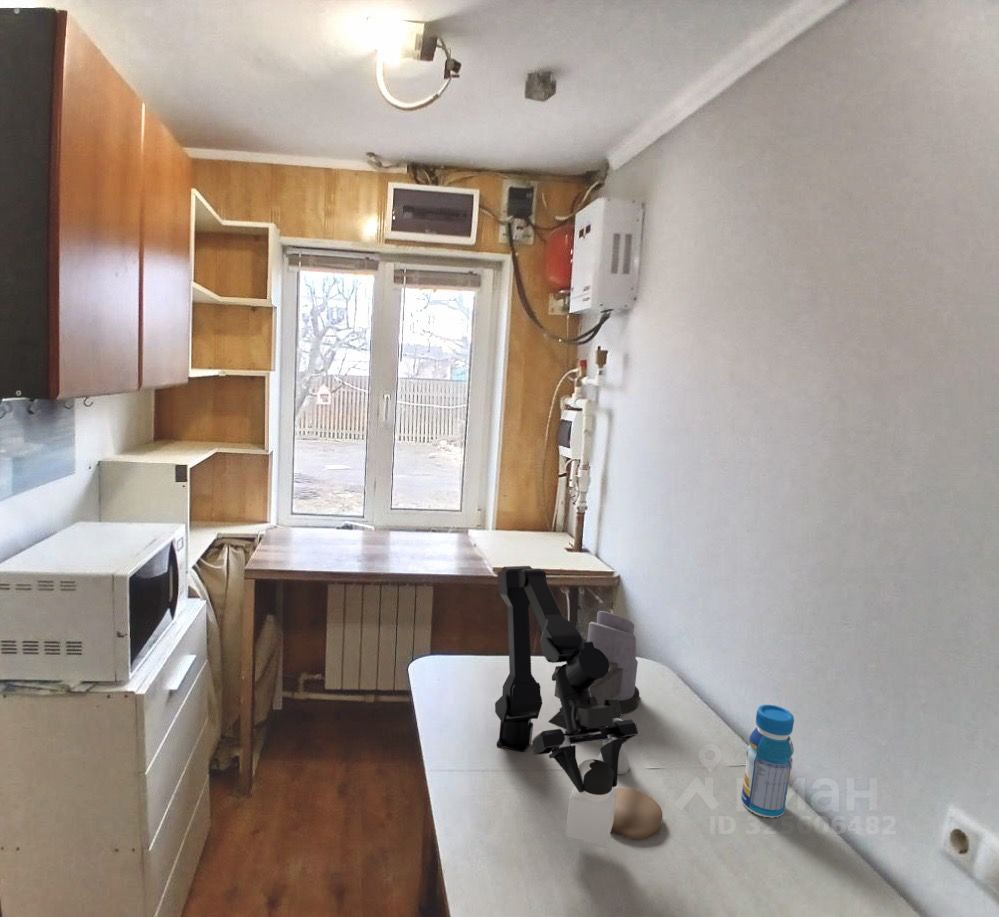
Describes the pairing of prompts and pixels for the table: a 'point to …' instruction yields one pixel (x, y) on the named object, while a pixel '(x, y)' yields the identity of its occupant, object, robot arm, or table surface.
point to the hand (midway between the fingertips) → (598, 789)
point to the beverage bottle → (768, 762)
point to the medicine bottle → (592, 804)
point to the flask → (620, 758)
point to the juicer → (612, 664)
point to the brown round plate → (636, 815)
